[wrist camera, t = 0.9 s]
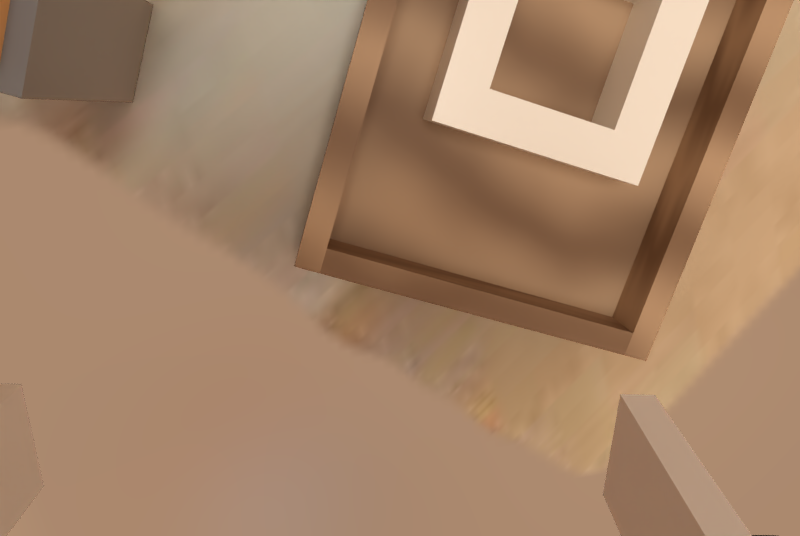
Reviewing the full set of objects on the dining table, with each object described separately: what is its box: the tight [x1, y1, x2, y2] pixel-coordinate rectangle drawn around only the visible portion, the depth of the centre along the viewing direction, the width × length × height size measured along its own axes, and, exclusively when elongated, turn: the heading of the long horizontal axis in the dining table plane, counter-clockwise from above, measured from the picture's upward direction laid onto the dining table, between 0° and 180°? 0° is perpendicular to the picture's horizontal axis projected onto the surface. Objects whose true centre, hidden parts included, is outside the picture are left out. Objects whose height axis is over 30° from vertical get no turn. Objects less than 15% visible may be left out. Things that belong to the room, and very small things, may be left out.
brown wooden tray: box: [294, 0, 794, 361], centre depth 30 cm, size 26×18×4 cm
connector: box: [0, 0, 153, 102], centre depth 23 cm, size 4×4×13 cm
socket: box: [423, 0, 709, 186], centre depth 29 cm, size 10×10×3 cm
